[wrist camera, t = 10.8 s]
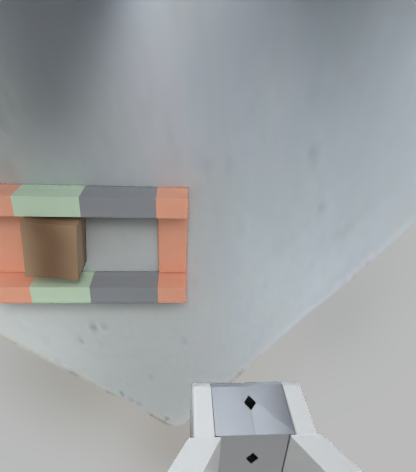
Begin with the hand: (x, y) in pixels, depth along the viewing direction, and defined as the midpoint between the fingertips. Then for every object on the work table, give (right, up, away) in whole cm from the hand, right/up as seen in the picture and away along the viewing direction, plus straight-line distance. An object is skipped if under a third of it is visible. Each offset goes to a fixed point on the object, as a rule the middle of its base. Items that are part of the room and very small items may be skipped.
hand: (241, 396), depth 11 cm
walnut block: (-16, +5, +30) cm, 34 cm away
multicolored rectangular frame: (-13, +4, +30) cm, 33 cm away
